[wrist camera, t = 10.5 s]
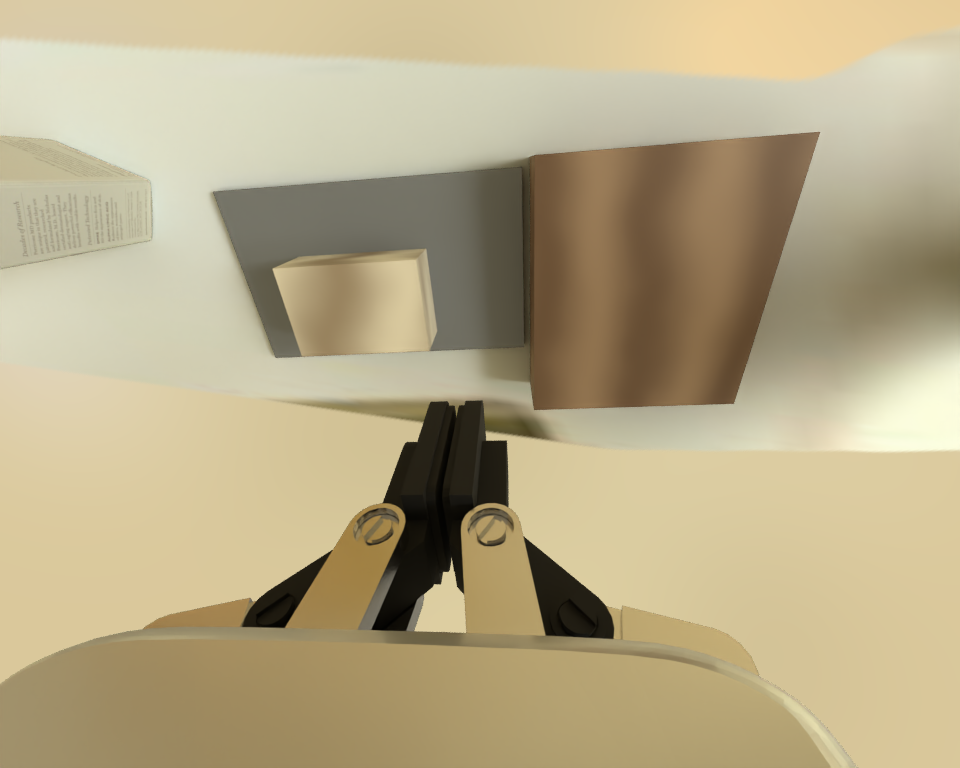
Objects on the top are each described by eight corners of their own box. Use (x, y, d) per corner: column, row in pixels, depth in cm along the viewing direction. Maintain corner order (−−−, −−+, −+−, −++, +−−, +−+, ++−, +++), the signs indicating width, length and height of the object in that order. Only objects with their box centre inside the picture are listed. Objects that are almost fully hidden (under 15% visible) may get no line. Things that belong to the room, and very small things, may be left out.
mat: (521, 167, 23) (521, 167, 23) (523, 344, 29) (524, 346, 29) (218, 191, 25) (213, 191, 24) (278, 355, 31) (275, 357, 30)
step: (769, 137, 22) (820, 131, 19) (706, 376, 30) (733, 403, 26) (529, 156, 23) (534, 155, 20) (530, 382, 31) (534, 409, 28)
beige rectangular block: (272, 268, 23) (299, 256, 26) (302, 356, 26) (323, 336, 29) (415, 259, 22) (426, 248, 26) (429, 350, 25) (437, 330, 29)
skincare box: (64, 206, 26) (-234, 233, 15) (53, 133, 24) (-303, 107, 13) (159, 243, 27) (-62, 291, 16) (156, 176, 25) (-99, 183, 14)
